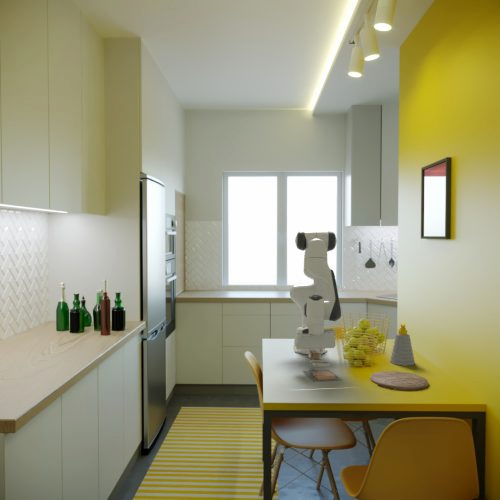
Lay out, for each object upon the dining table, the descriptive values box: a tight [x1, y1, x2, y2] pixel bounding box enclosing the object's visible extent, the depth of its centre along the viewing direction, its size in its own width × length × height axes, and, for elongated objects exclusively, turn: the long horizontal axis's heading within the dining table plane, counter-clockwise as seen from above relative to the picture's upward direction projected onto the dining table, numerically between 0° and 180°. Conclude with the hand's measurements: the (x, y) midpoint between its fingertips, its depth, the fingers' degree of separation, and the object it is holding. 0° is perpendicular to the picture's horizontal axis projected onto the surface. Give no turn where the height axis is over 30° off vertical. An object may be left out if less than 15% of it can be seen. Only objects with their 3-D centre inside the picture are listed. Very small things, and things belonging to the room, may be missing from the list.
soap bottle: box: [389, 323, 416, 367], centre depth 252 cm, size 12×12×20 cm
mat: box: [301, 369, 344, 383], centre depth 224 cm, size 18×14×1 cm
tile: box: [313, 370, 336, 380], centre depth 221 cm, size 2×8×8 cm
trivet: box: [369, 370, 429, 392], centre depth 217 cm, size 25×25×2 cm
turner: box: [307, 350, 331, 368], centre depth 231 cm, size 18×7×4 cm, turn 11°
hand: (314, 357), depth 234 cm, fingers closed on turner, 3 cm apart
